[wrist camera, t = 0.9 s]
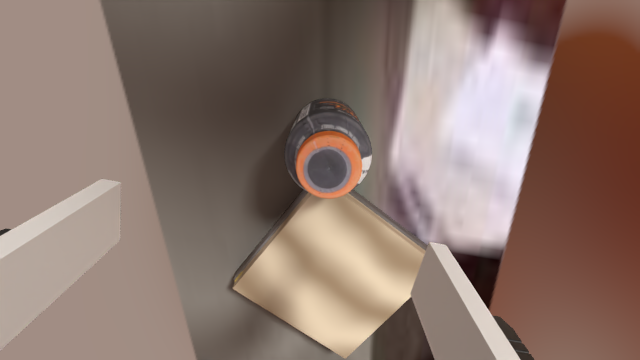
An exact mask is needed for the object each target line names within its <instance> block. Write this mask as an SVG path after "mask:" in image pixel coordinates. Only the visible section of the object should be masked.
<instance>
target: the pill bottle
mask: <svg viewBox="0 0 640 360" xmlns="http://www.w3.org/2000/svg"><path fill="white" fill-rule="evenodd" d="M284 155H285V156H284V157H285V163H286V167H287V169H288V172H289V174H290V176H291V177H292V179H293V180H294V181H295V182H296V183H297V184H298V185H299V186H300V187H301V188H302V189H304V190H306V191H307V192H309V193H311V194H312V195H314V196H317V197H320V198H326V199H334V198H338V197H341V196H344V195H345V194H347V193H349V192H350V191H351V190H352V189H354V188H355V187H356V186H358V185H359V184H360V183H361V181H362V180H363V179H364V177H365V176H366V174H367V172H368V170H369V167H370V164H371V157H372V148H371V143H370V140H369V137H368V135H367V133H366V131H365V130H364V128H363V126H362V125H361V123H360V121H359V119H358V118H357V116H356V114H355V113H354V112H353V110H352V109H351V108H350V107H349V106H348V105H347V104H345V103H343V102H341V101H339V100H336V99H326V98H325V99H319V100H315V101H313V102H311V103H309V104H307V105H306V106H305V107H304V108H303V109H302V110H301V111H300V112H299V114H298V115H297V117H296V120H295V122H294V124H293V126H292V129H291V131H290V133H289V136H288V138H287V140H286V145H285V151H284Z"/></svg>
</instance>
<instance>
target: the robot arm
mask: <svg viewBox="0 0 640 360" xmlns="http://www.w3.org/2000/svg"><path fill="white" fill-rule="evenodd" d="M120 216H121V182H117V181H111V180H106V179H100V180H99V181H97V182H95V183H93V184H92V185H90V186H88V187H87V188H85V189H83V190H81V191H79V192H78V193H76V194H74V195H72V196H70V197H69V198H67V199H65V200H63V201H62V202H60V203H58V204H56V205H55V206H53V207H51V208H49V209H47V210H46V211H44V212H42V213H40V214H38V215H37V216H35V217H33V218H32V219H30V220H28V221H26V222H25V223H23V224H21V225H19V226H17V227H15V228H14V229H12V230H11V229H4V230H1V231H0V351H1V350H2V349H3V348H4V347H5V346H6V345H7V344H8V343H9V342H10V341H12V340H13V339H14V338H15V337H16V336H17V335H18V334H19V333H20V332H21V331H22V330H24V329H25V328H26V327H27V326H28V325H29V324H30V323H31V322H32V321H33V320H34V319H35V318H37V317H38V316H39V315H40V314H41V313H42V312H43V311H44V310H45V309H46V308H47V307H49V306H50V305H51V304H52V303H53V302H54V301H55V300H56V299H57V298H58V297H59V296H60V295H62V294H63V293H64V292H65V291H66V290H67V289H68V288H69V287H70V286H71V285H72V284H73V283H75V282H76V280H78V279H79V278H80V277H81V276H82V275H83V274H84V273H85V272H86V271H87V270H89V269H90V268H91V267H92V266H93V265H94V264H95V263H96V262H97V261H98V260H100V258H102V257H103V256H104V255H105V254H106V253H107V252H108V251H109V250H110V249H111V248H112V247H114V246H115V245H116V244H117V243H118V242H119V241H120V218H121V217H120ZM410 294H411V297H412V299H413V302H414V305H415V307H416V310H417V313H418V315H419V318H420V321H421V323H422V326H423V329H424V332H425V334H426V337H427V340H428V342H429V345H430V348H431V350H432V353H433V356H434V359H435V360H534V358H533V357H532V356H531V354H529V351H528V350H527V348H526V347H525V345H524V344H522V343H521V340H520V338H519V337H518V335H517V334H516V333H515V331H514V330H513V328H511V327H510V326H509V325H508V324H507V323H506V322H505V321H504V320H503V319H502V318H500V317H498V316H492V315H491V313H490V312H489V310H488V309H487V307H486V306H485V304H484V303H483V301H482V300H481V298H480V297H479V295H478V293H477V292H476V290H475V289H474V287H473V286H472V284H471V283H470V281H469V280H468V278H467V277H466V275H465V274H464V272H463V270H462V269H461V267H460V266H459V264H458V263H457V261H456V260H455V258H454V257H453V255H452V254H451V252H450V251H449V249H448V247H447V246H446V245H443V244H438V243H432V242H429V244H428V246H427V249H426V252H425V255H424V257H423V260H422V263H421V266H420V268H419V271H418V274H417V277H416V279H415V282H414V285H413V288H412V290H411V293H410Z"/></svg>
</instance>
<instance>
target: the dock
mask: <svg viewBox="0 0 640 360" xmlns="http://www.w3.org/2000/svg"><path fill="white" fill-rule="evenodd" d="M427 246H428V245H426V244H425V243H424V242H422V241H421V240H420V239H418V238H417V237H416V236H414V235H413V234H412V233H410V232H409V231H408V230H406V229H405V228H404V227H402V226H401V225H400V224H398V223H397V222H396V221H394V220H393V219H392V218H390V217H389V216H388V215H386V214H385V213H384V212H382V211H381V210H380V209H378V208H377V207H376V206H374V205H373V204H372V203H370V202H369V201H368V200H366V199H365V198H364V197H363V196H361V195H360V194H359V193H357V192H356V191H355V190H353V189H352V190H351V191H350V192H349V193H347V194H345V195H344V196H341V197H338V198H334V199H326V198H320V197H317V196H314V195H312V194H311V193H309V192H307V191H306V190H303V191H302V192H301V194H300V195H299V196H298V197H297V198H296V200H295V201H294V202H293V203H292V204H291V206H290V207H289V208H288V209H287V211H286V212H285V213H284V214H283V215H282V217H281V218H280V219H279V220H278V221H277V223H276V224H275V225H274V226H273V227H272V229H271V230H270V231H269V232H268V233H267V235H266V236H265V237H264V238H263V240H262V241H261V242H260V243H259V244H258V246H257V247H256V248H255V249H254V250H253V252H252V253H251V254H250V255H249V256H248V258H247V259H246V260H245V261H244V262H243V264H242V265H241V266H240V267H239V269H238V270H237V271H236V274H235V276H234V280H235V281H234V282H235V283H234V286H233V288H232V289H234V290H235V291H237V292H239V293H240V294H242V295H243V296H245V297H247V298H248V299H250V300H251V301H253V302H255V303H256V304H258V305H260V306H261V307H263V308H264V309H266V310H268V311H269V312H271V313H272V314H274V315H276V316H277V317H279V318H281V319H282V320H284V321H285V322H287V323H289V324H290V325H292V326H293V327H295V328H297V329H298V330H300V331H301V332H303V333H305V334H306V335H308V336H310V337H311V338H313V339H314V340H316V341H318V342H319V343H321V344H322V345H324V346H326V347H327V348H329V349H331V350H332V351H334V352H335V353H337V354H339V355H340V356H342V357H343V358H345V359H346V358H347V357H348V356H349V355H350V354H351V353H352V352H353V351H354V350H355V349H356V348H357V347H358V346H359V345H360V344H361V343H362V342H364V341H365V340H366V339H367V338H368V337H369V336H370V335H371V334H372V333H373V332H374V331H375V330H376V329H377V328H378V327H379V326H380V325H381V324H383V323H384V322H385V321H386V320H387V319H388V318H389V317H390V316H391V315H392V314H393V313H394V312H395V311H396V310H397V309H398V308H399V307H400V306H402V305H403V304H404V303H405V302H406V301H407V300H408V299H409V298H410V297H411V294H410V293H411V290H412V288H413V285H414V282H415V279H416V277H417V274H418V271H419V268H420V266H421V263H422V260H423V257H424V255H425V252H426V249H427Z"/></svg>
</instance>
